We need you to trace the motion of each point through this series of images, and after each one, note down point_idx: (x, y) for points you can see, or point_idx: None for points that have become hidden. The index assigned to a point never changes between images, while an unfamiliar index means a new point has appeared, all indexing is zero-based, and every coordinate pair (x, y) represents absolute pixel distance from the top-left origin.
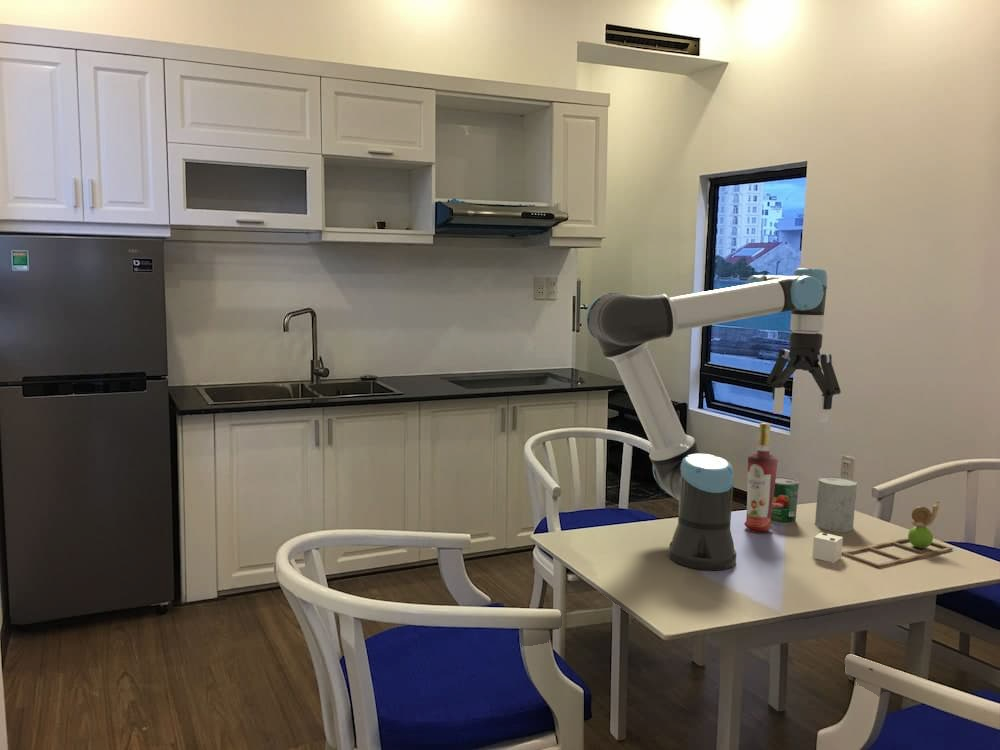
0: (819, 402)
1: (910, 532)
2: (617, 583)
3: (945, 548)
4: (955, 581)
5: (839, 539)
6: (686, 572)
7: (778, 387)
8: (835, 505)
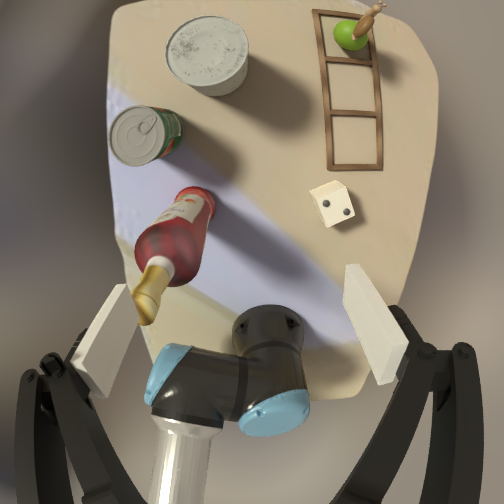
0: (368, 360)
1: (347, 44)
2: None
3: None
4: (435, 126)
5: (350, 201)
6: None
7: (84, 383)
8: (235, 81)
